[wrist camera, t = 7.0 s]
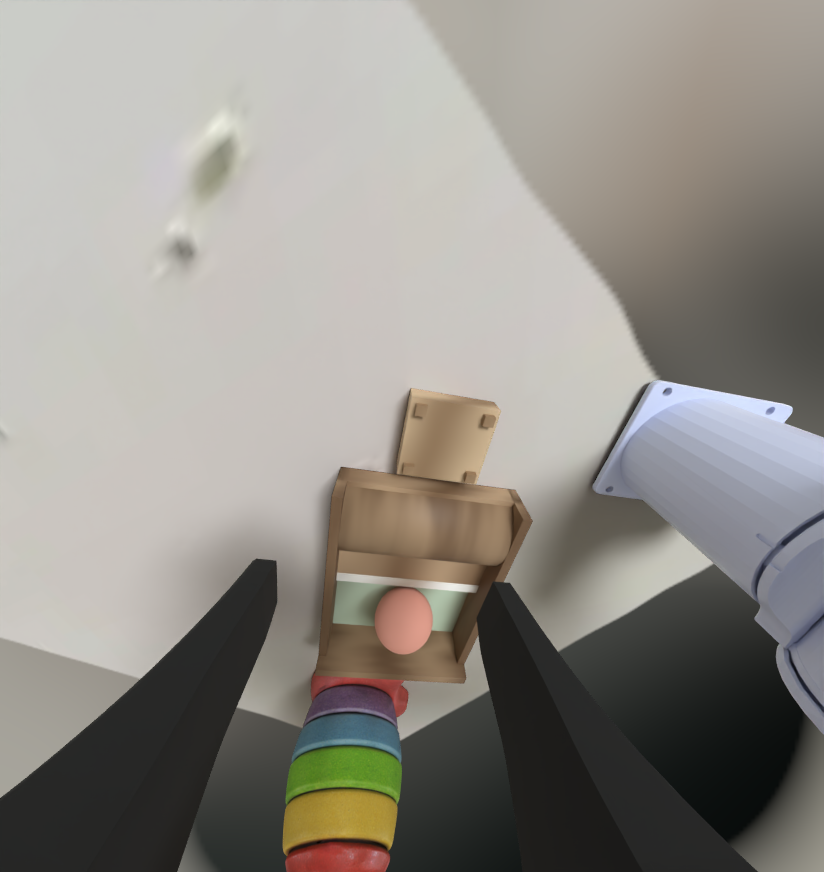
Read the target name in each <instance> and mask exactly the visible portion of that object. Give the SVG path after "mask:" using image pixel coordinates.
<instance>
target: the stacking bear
mask: <svg viewBox="0 0 824 872" xmlns="http://www.w3.org/2000/svg"><path fill="white" fill-rule="evenodd" d="M403 681H404V680H388V679H369V678H350V677H332V676H315V673H314V675H313V677H312V682H311V697H312V705H311V707H310V709H309V711H308V714H307V717H306V719H305V722H304V725H303V729H302V731H301V733H300V735H299V738H298V740H297V744H296V747H295V750H294V753H293V757H292V765H291V767H290V770H289V776H288V783H287V791H286V804H287V807H286V810H285V818H284V829H283V851H284V853H285V855H287V858H286V862H285V864H286V870H287V872H385V871H386V868H387V866H388V864H389V861H390V855H389V853H388V850H389V849H390V848H391V845H392V842H393V837H394V831H395V824H396V816H397V803H398V800H399V796H400V788H401V775H402V767H401V764H400V763H401V747H400V738H399V733H398V730H397V729H398V726H397V718H396V717H398V716H400V715H401V714H403V713H404V712H405V710H406V708H407V702H408V692H407V690H406V689H405V688H403V687H402V686H401V684H402V683H403Z"/></svg>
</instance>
